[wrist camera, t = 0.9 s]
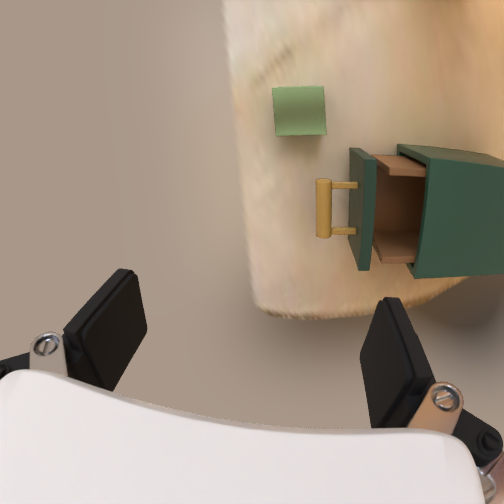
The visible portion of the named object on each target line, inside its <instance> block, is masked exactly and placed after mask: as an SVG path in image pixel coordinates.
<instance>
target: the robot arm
mask: <svg viewBox="0 0 504 504" xmlns="http://www.w3.org/2000/svg"><path fill="white" fill-rule="evenodd" d="M63 331H64V334H63V335H62V336H61V335H60V334H58V333H56V332H46V333H43V334H40V335H39V336H37V337H36V338H35V339H34V340H33V341H32V343H31V346H30V352H28V353H25V354H21V355H18V356H14V357H11V358H8V359H5V360H1V361H0V504H504V452H503V451H502V448H503V441H502V438H501V435H500V434H499V432H498V431H497V430H496V429H495V428H493V427H491V426H490V425H488V424H487V423H485V422H483V421H482V420H480V419H479V418H477V417H475V416H474V415H472V414H471V413H469V412H467V411H466V410H464V409H463V404H464V400H463V396H462V394H461V392H460V391H459V389H458V388H456V387H455V386H454V385H453V384H450V383H448V382H437V383H436V381H435V378H434V375H433V373H432V370H431V367H430V365H429V363H428V360H427V357H426V355H425V353H424V350H423V348H422V346H421V343H420V341H419V338H418V336H417V334H416V333H415V331H414V329H413V327H412V324H411V322H410V320H409V318H408V315H407V313H406V311H405V309H404V307H403V305H402V302H401V300H400V299H399V298H394V297H384V299H383V301H381V300H380V301H379V302H378V304H377V307H376V310H375V313H374V317H373V319H372V323H371V325H370V328H369V331H368V334H367V336H366V339H365V341H364V344H363V347H362V349H361V352H360V363H361V368H362V374H363V379H364V385H365V391H366V397H367V403H368V409H369V416H370V423H371V428H372V429H324V428H301V427H286V426H275V425H265V424H264V425H263V424H256V423H248V422H240V421H233V420H227V419H221V418H214V417H209V416H204V415H199V414H194V413H189V412H184V411H180V410H175V409H171V408H167V407H163V406H159V405H155V404H151V403H148V402H144V401H140V400H137V399H133V398H130V397H127V396H123V395H120V394H117V393H114V392H113V390H114V389H115V387H116V385H117V383H118V382H119V380H120V378H121V376H122V375H123V373H124V371H125V369H126V367H127V366H128V364H129V362H130V360H131V359H132V357H133V355H134V354H135V352H136V350H137V349H138V347H139V345H140V343H141V342H142V340H143V338H144V337H145V335H146V333H147V323H146V319H145V313H144V308H143V303H142V298H141V293H140V287H139V281H138V277H137V275H136V274H134V272H133V271H132V270H128V269H118V270H117V271H116V272H115V273H114V274H113V275H112V276H111V277H110V278H109V279H108V280H107V281H106V282H105V283H104V284H103V285H102V287H101V288H100V289H99V290H98V291H97V292H96V293H95V294H94V295H93V296H92V297H91V298H90V299H89V301H88V302H87V303H86V304H85V305H84V306H83V307H82V308H81V309H80V310H79V312H78V313H77V314H76V315H75V316H74V317H73V318H72V320H71V321H70V322H69V323H68V324H67V325H66V326H65V328H64V329H63Z"/></svg>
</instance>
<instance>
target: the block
mask: <svg viewBox="0 0 504 504" xmlns="http://www.w3.org/2000/svg"><path fill="white" fill-rule="evenodd" d="M272 95H273V106H274V118H275V131H276V136H294V135H326V116H325V101H324V87H323V86H302V87H278V88H272Z"/></svg>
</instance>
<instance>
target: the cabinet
mask: <svg viewBox="0 0 504 504" xmlns="http://www.w3.org/2000/svg"><path fill="white" fill-rule="evenodd" d="M397 156H408V157H413V158H415V159H417V160H419V161H421V162H423V163H425V164H427V166H426V181H425V193H424V203H423V212H422V220H421V227H420V234H419V241H418V247H417V253H416V258H415V263H406V265H407V267H408V269H409V270H410V272H411V274H412V275H413V277H414V279H420V278H442V277H461V276H476V275H477V276H478V275H493V274H504V161H503V160H501V159H498V158H496V157H493V156H490V155H487V154H481V153H475V152H468V151H462V150H454V149H446V148H438V147H429V146H418V145H406V144H397Z"/></svg>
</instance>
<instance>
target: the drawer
mask: <svg viewBox="0 0 504 504" xmlns="http://www.w3.org/2000/svg"><path fill="white" fill-rule="evenodd" d="M349 149H350V182H332V181H331V180H330V179H317V180H316V236H317V237H319V238H329V237H331V234H332V235H340V234H348V240H349V243H350V246H351V249H352V252H353V255H354V258H355V261H356V264H357V267H358V271H369V269H370V261H371V252H372V244H373V246H374V248H375V250H376V252H377V255H378V257H379V259H380V261H381V263H415V258H416V253H417V247H418V241H419V234H420V227H421V220H422V212H423V203H424V193H425V181H426V166H427V164H425V163H423V162H421V161H419V160H417V159H415V158H413V157H408V156H391V155H369V154H368V153H366V152H365V151H363V150H362V149H360V148H349ZM332 189H350V193H349V225H348V227H332V228H331V219H332Z"/></svg>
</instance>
